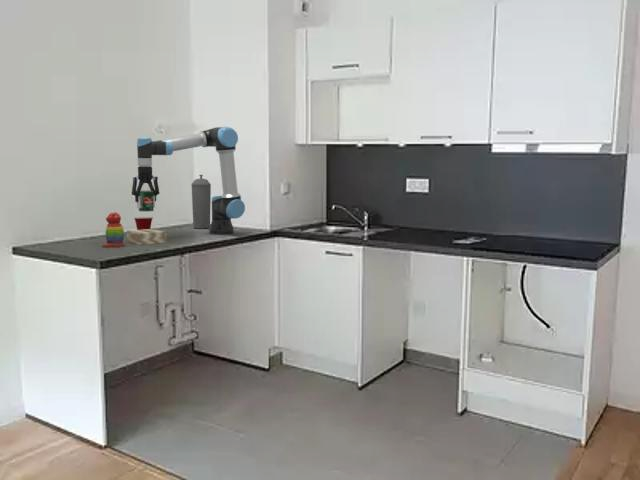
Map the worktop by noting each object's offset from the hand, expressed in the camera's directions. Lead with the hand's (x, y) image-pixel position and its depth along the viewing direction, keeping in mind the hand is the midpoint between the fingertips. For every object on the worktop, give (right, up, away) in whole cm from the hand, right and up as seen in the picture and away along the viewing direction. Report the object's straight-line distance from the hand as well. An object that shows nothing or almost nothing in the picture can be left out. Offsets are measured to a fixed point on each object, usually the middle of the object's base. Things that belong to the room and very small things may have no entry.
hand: (146, 207), depth 341 cm
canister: (+18, -10, +67) cm, 70 cm away
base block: (0, -19, +3) cm, 19 cm away
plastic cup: (-7, -16, +22) cm, 28 cm away
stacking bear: (-13, -21, -13) cm, 28 cm away
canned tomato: (0, -2, 0) cm, 2 cm away
